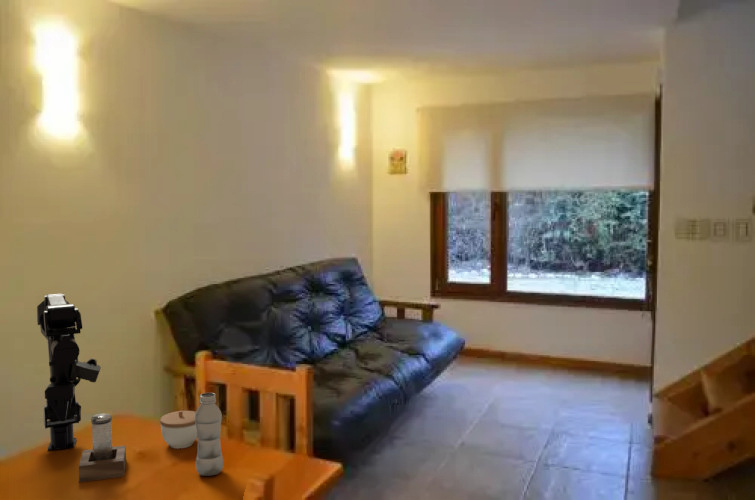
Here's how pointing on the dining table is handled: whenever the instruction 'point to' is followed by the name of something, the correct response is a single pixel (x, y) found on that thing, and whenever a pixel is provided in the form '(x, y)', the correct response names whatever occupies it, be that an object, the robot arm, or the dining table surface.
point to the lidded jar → (179, 429)
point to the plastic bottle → (208, 436)
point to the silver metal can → (102, 437)
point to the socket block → (102, 465)
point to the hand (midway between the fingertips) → (65, 415)
